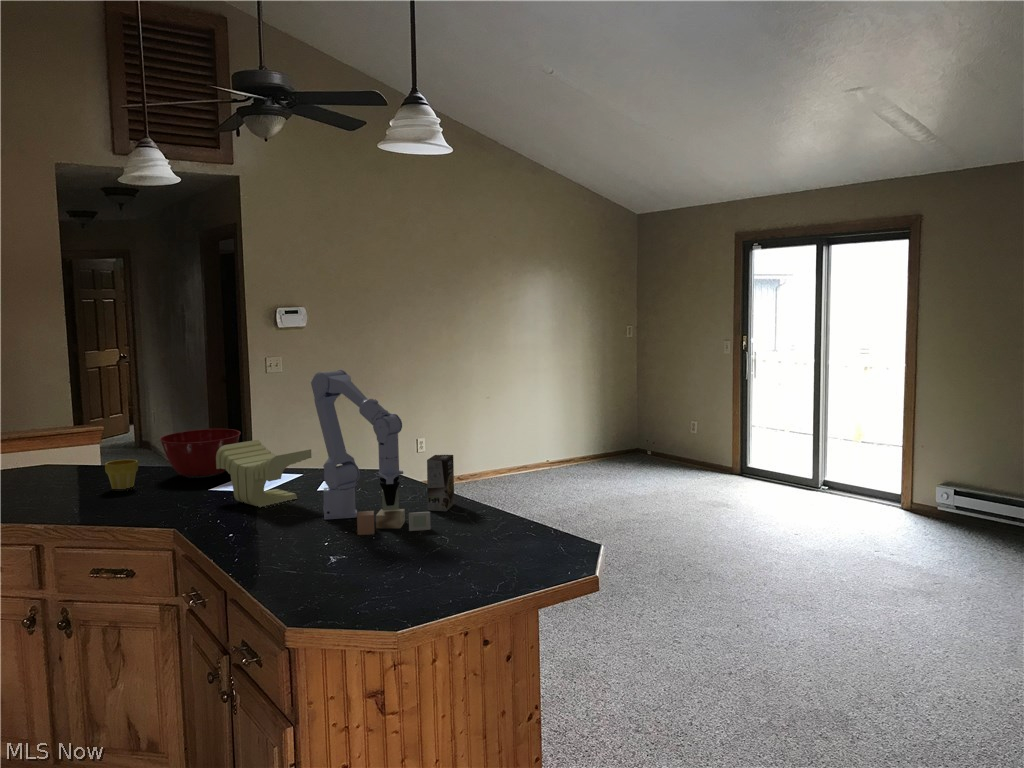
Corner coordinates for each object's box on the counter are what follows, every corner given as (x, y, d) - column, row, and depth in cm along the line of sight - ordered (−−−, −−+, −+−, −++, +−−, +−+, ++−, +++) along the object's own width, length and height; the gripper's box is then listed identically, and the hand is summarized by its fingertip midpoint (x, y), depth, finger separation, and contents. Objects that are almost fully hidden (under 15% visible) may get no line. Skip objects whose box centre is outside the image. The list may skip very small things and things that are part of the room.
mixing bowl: (194, 487, 281) (192, 444, 279) (145, 478, 296) (143, 437, 294) (258, 471, 305) (256, 432, 303) (210, 464, 320) (208, 426, 318)
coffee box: (447, 511, 243) (446, 460, 242) (427, 510, 245) (425, 459, 243) (455, 504, 252) (454, 454, 251) (435, 503, 254) (434, 453, 252)
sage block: (382, 510, 227) (382, 491, 226) (382, 506, 232) (381, 488, 231) (398, 509, 228) (398, 490, 227) (398, 505, 232) (397, 487, 232)
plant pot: (129, 484, 286) (128, 457, 285) (145, 488, 280) (143, 460, 279) (101, 490, 278) (99, 462, 277) (116, 494, 272) (114, 466, 270)
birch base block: (376, 529, 227) (375, 515, 227) (381, 522, 234) (381, 509, 234) (400, 529, 227) (400, 515, 226) (405, 522, 234) (404, 509, 233)
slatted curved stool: (218, 499, 262) (215, 446, 260) (260, 490, 275) (258, 439, 273) (270, 514, 243) (267, 457, 241) (313, 503, 255) (311, 449, 254)
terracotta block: (357, 535, 221) (356, 516, 220) (358, 530, 225) (357, 511, 224) (374, 534, 221) (373, 515, 221) (374, 529, 226) (373, 510, 225)
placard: (409, 531, 224) (408, 513, 223) (409, 529, 225) (408, 512, 224) (430, 529, 224) (430, 512, 224) (430, 528, 226) (429, 511, 225)
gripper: (403, 461, 222) (405, 508, 223) (402, 451, 236) (403, 496, 237) (378, 462, 220) (379, 510, 222) (377, 452, 235) (379, 497, 236)
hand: (390, 503), depth 230 cm, fingers closed on sage block, 4 cm apart
